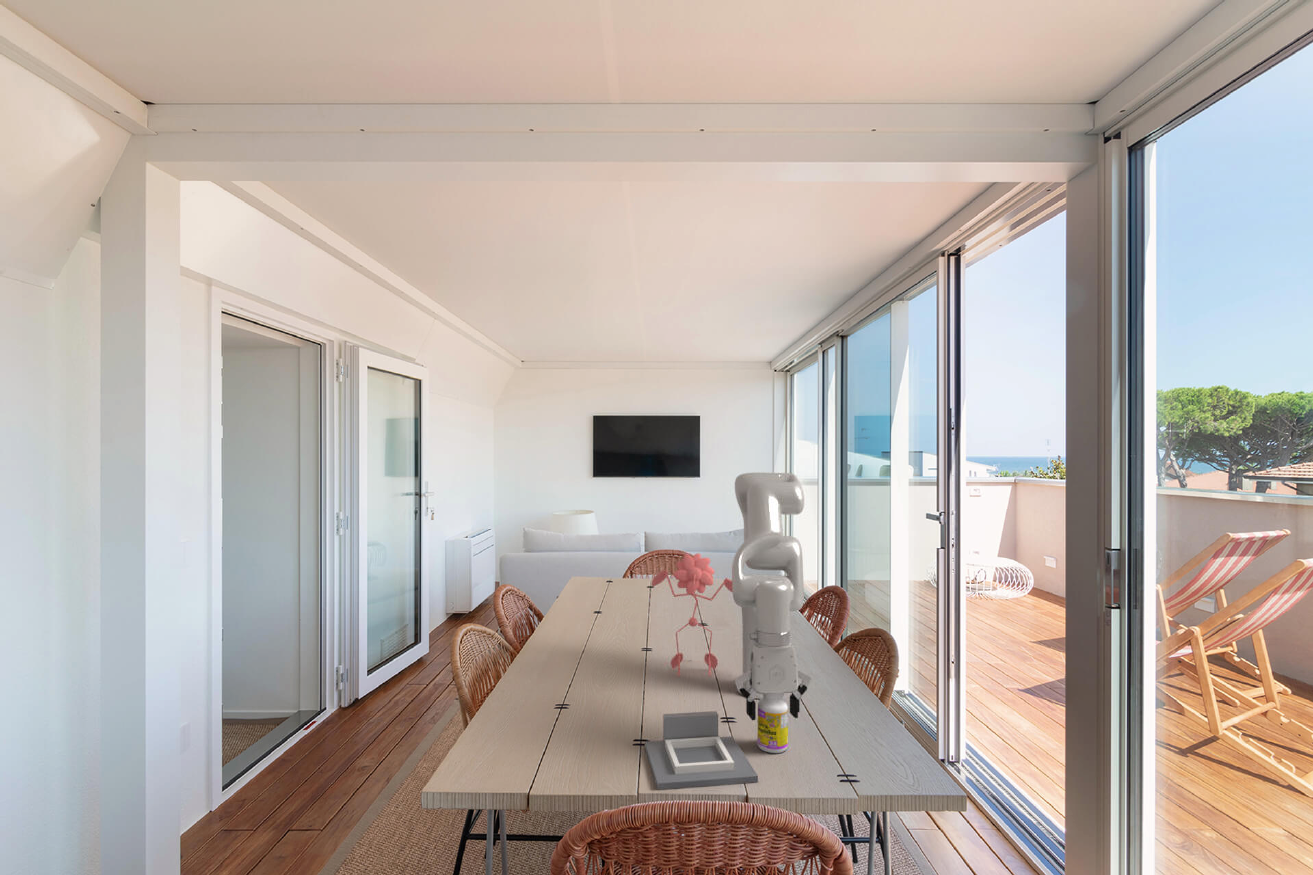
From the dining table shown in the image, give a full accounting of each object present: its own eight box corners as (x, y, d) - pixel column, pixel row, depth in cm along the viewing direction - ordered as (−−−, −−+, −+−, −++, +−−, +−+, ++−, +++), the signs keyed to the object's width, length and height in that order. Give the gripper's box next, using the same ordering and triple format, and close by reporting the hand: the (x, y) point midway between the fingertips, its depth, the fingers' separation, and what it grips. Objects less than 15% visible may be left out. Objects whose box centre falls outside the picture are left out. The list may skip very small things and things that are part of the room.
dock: (644, 747, 138) (645, 714, 138) (732, 741, 141) (732, 709, 141) (657, 789, 120) (657, 751, 120) (757, 782, 123) (757, 744, 123)
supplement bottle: (751, 747, 138) (751, 688, 139) (769, 737, 143) (768, 681, 143) (776, 757, 133) (776, 696, 134) (794, 747, 138) (793, 688, 139)
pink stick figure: (739, 677, 183) (738, 556, 185) (650, 676, 183) (651, 556, 185) (734, 661, 198) (733, 550, 200) (652, 661, 198) (652, 549, 201)
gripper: (739, 643, 134) (739, 725, 133) (816, 641, 137) (817, 721, 135) (730, 634, 141) (730, 712, 140) (803, 632, 144) (803, 708, 143)
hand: (772, 716), depth 138 cm, fingers open, 9 cm apart
